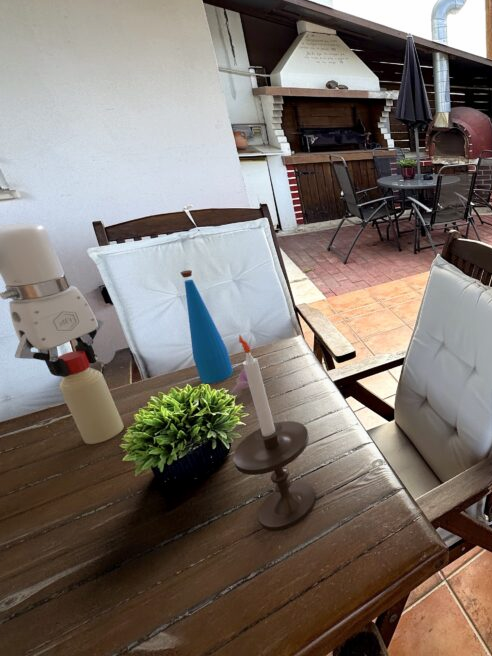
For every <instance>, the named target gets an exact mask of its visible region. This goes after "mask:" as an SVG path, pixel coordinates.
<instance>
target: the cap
mask: <svg viewBox="0 0 492 656" xmlns="http://www.w3.org/2000/svg"><path fill="white" fill-rule="evenodd" d="M58 357H59V358H61V359H63V360H64V362H65V364H66V366H67V368H68V370H69V373H70V374H69V375H71V374H75V373H78V372H81V371H84V370H86V369H87V368H89V367H90V368H91V363H89V360H88V358H87V356H86V353H85V352H84V351H76V350H74V351H70V352H66V353H63V354H61V355H58Z"/></svg>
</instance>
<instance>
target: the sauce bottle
mask: <svg viewBox="0 0 492 656" xmlns="http://www.w3.org/2000/svg"><path fill="white" fill-rule="evenodd" d="M58 389H59V391H60V393H61V395H62V398H63V400H64V402H65V403H66V406H67V408H68V410H69V412H70V415H71V416H72V418H73V420H74V423H75V425H76V427H77V430H78V431H79V434H80V436H81V438H82V440H83V442H84V444H87V445H95V444H100V443H102V442H103V443H104V442H105V441H108V440H111V439H112V438H114V437H115V436H117V435H118V434H120V433H121V432H122V431H124V428H125V426H124V425H125V424H124V423H123V420H122V418H121V415H120V413H119V411H118V408H117V407H116V406H117V405H116V404H115V401H114V399H113V396H112V394H111V391H110V390H109V389H110V388H109V386H108V385H107V381H106V379H105V376H104V375H103V373H102V372H101V371H100V370H97V369H95V368H92V367H91V366H90V367H89V368H87V369H86V370H84V371H81V372H78V373H75V374H71V375H69V376H67V377H62V379H61V381H60V382H59V386H58Z"/></svg>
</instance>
